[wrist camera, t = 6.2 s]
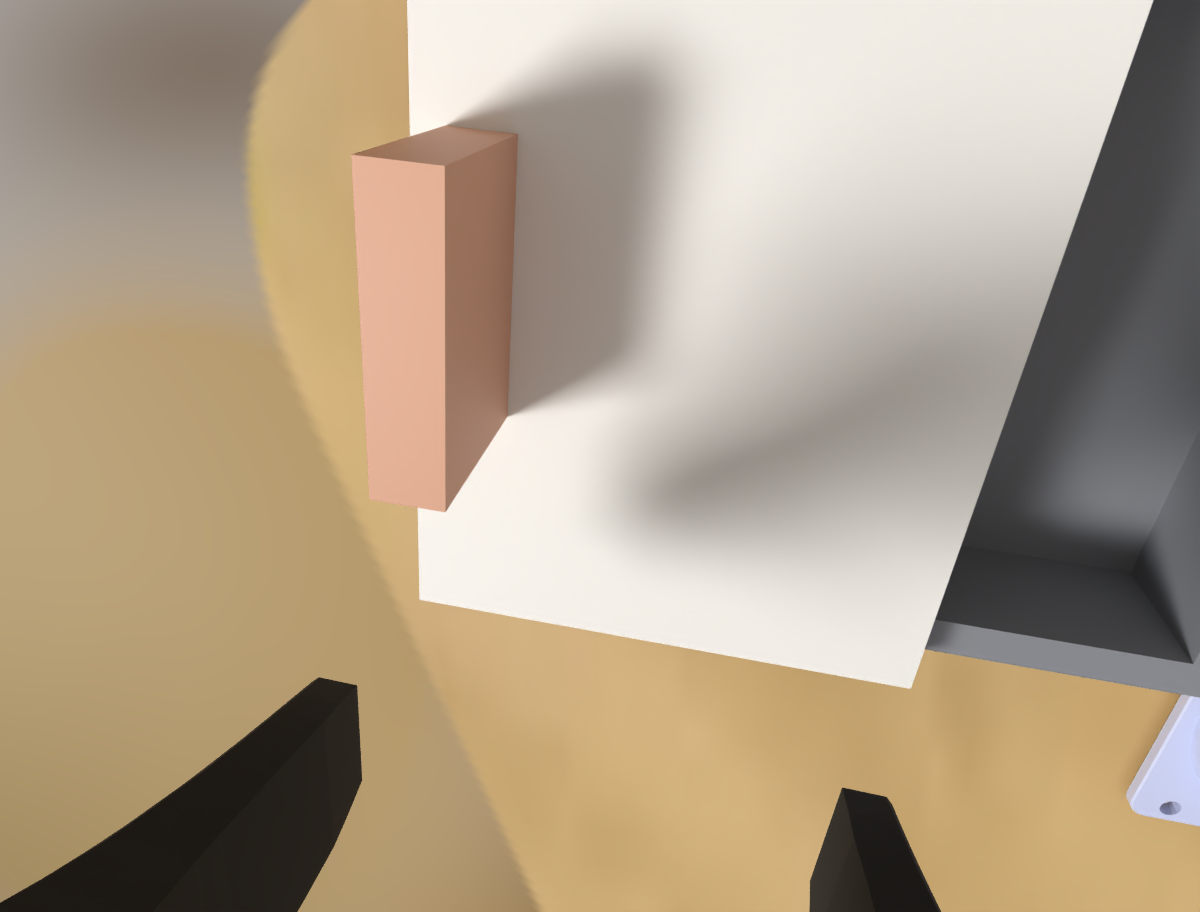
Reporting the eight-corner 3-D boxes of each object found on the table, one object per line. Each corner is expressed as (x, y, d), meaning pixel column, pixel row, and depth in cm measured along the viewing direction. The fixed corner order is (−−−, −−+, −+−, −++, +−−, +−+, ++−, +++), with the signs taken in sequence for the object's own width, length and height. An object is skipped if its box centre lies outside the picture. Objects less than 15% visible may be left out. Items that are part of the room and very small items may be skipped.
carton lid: (1193, -185, 11) (1429, -300, 7) (904, 662, 17) (944, 836, 14) (423, -235, 12) (266, -358, 8) (432, 578, 19) (349, 717, 15)
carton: (1468, -86, 14) (1707, -124, 10) (1139, 586, 20) (1218, 700, 17) (862, -131, 15) (892, -180, 11) (735, 519, 22) (730, 615, 18)
